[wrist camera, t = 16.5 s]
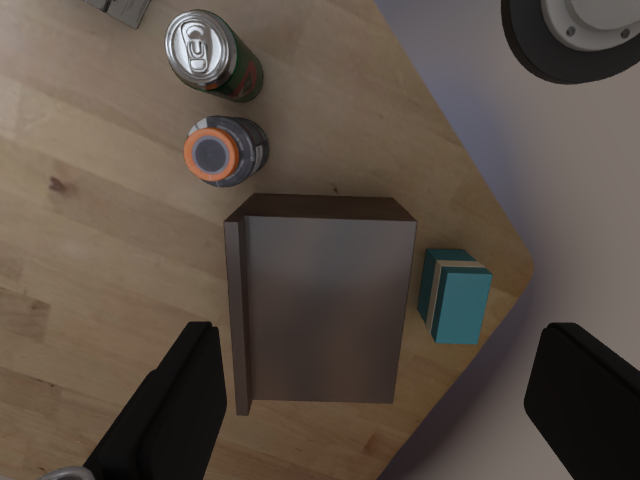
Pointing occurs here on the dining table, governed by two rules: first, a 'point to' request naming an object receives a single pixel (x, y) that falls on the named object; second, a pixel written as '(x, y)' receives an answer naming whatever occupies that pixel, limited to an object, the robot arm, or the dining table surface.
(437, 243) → the dining table surface
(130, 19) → the ink box
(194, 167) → the pill bottle
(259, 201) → the shelf
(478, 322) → the block
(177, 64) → the soda can
